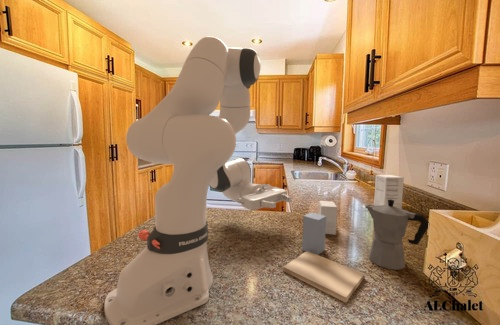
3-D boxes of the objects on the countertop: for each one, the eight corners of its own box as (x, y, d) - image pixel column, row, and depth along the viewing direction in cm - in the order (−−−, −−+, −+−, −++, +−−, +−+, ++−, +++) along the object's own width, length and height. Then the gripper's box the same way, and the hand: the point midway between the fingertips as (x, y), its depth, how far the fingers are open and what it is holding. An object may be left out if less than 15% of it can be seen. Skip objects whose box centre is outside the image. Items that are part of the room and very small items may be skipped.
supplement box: (402, 210, 111) (405, 177, 109) (384, 210, 111) (386, 177, 109) (389, 205, 121) (392, 174, 119) (373, 204, 120) (375, 174, 119)
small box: (336, 235, 80) (337, 207, 79) (320, 233, 81) (321, 206, 80) (332, 227, 88) (333, 201, 87) (317, 225, 89) (319, 200, 88)
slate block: (316, 256, 65) (318, 220, 64) (302, 250, 69) (303, 215, 68) (324, 250, 69) (326, 216, 68) (310, 244, 72) (311, 212, 71)
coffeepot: (355, 256, 65) (359, 197, 64) (369, 247, 71) (373, 192, 69) (418, 283, 53) (425, 210, 52) (429, 269, 59) (435, 204, 57)
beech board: (345, 302, 46) (346, 297, 46) (283, 271, 57) (283, 266, 57) (364, 278, 55) (364, 273, 55) (306, 254, 66) (306, 250, 66)
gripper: (233, 191, 78) (263, 199, 69) (270, 183, 93) (298, 188, 83) (233, 209, 79) (263, 219, 69) (269, 198, 94) (298, 205, 84)
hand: (282, 202), depth 76 cm, fingers open, 8 cm apart
